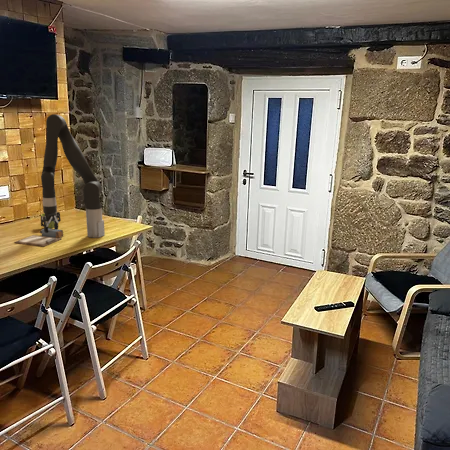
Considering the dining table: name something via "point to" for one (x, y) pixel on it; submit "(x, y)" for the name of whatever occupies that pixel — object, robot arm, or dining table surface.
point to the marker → (52, 233)
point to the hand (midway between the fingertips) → (51, 230)
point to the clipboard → (38, 240)
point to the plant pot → (50, 222)
